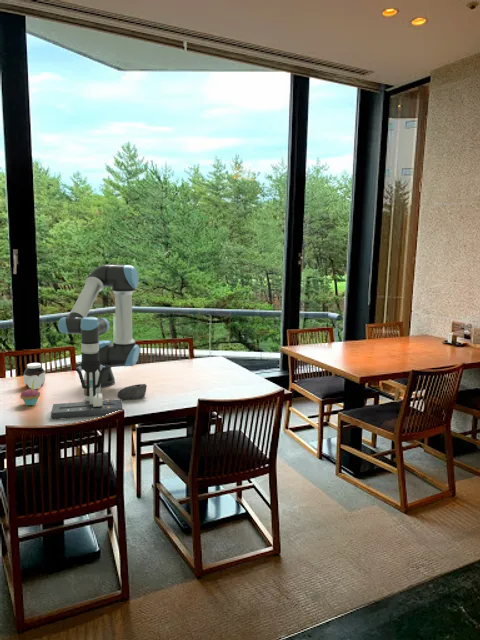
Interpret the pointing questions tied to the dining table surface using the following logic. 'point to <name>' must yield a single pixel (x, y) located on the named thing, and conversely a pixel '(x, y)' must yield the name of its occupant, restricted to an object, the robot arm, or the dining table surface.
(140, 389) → the perforated stone tool
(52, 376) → the dining table surface
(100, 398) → the fader knob
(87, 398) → the milk bottle
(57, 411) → the fader console
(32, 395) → the cupcake
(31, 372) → the spread jar
